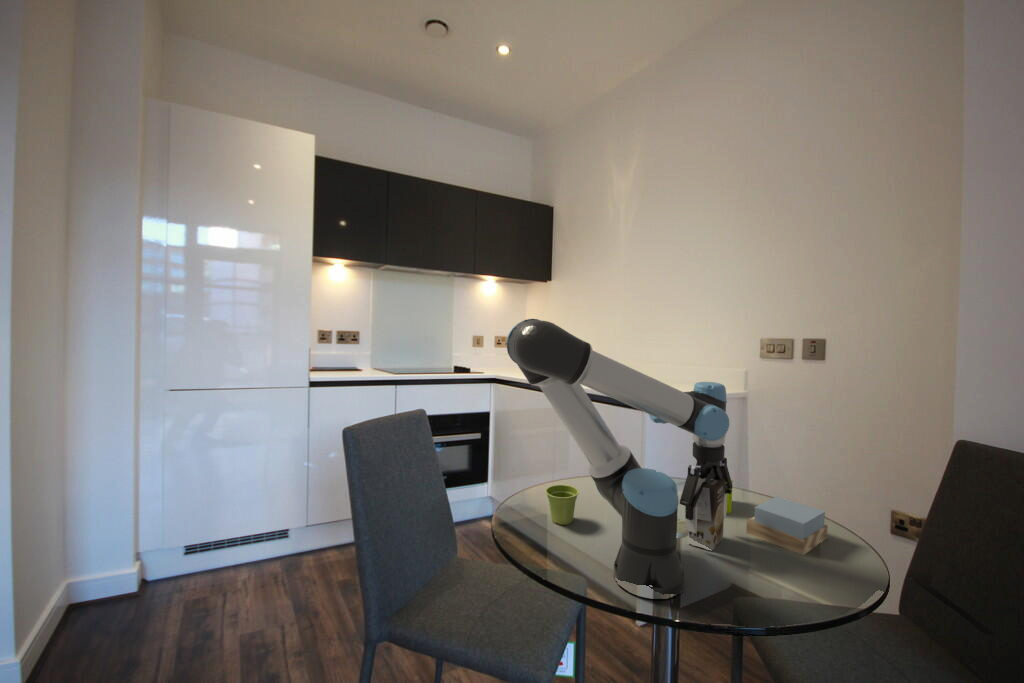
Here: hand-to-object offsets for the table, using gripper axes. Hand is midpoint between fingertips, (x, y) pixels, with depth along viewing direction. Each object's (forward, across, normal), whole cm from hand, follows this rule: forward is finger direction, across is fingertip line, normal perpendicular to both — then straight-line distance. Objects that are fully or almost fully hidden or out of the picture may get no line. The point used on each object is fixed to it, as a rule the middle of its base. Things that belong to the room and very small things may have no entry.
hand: (706, 523), depth 121 cm
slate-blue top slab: (+1, +20, -11) cm, 23 cm away
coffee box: (+5, 0, 0) cm, 5 cm away
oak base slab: (+5, +20, -11) cm, 23 cm away
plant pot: (+5, -22, +31) cm, 38 cm away
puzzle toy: (+5, +21, +12) cm, 25 cm away
